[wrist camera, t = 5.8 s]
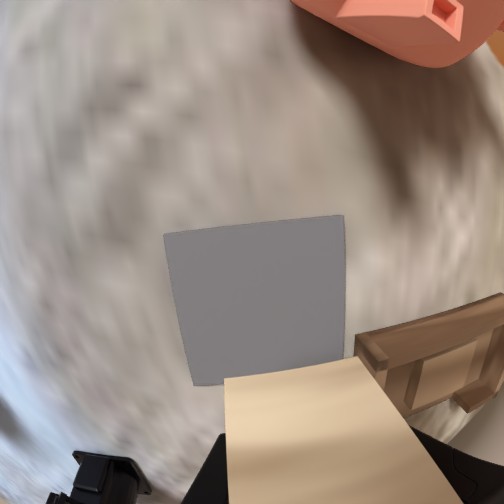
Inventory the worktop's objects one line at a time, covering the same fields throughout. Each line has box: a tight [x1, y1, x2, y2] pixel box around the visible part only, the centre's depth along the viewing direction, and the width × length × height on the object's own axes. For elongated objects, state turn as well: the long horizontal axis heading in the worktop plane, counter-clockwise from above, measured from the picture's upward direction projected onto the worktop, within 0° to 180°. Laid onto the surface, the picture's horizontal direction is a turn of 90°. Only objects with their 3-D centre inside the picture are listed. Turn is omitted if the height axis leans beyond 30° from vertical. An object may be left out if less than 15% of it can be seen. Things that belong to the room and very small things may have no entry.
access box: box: [354, 292, 504, 418], centre depth 18 cm, size 10×16×4 cm, turn 95°
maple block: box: [224, 356, 463, 504], centre depth 6 cm, size 4×4×6 cm
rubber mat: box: [163, 215, 345, 386], centre depth 17 cm, size 10×10×1 cm
